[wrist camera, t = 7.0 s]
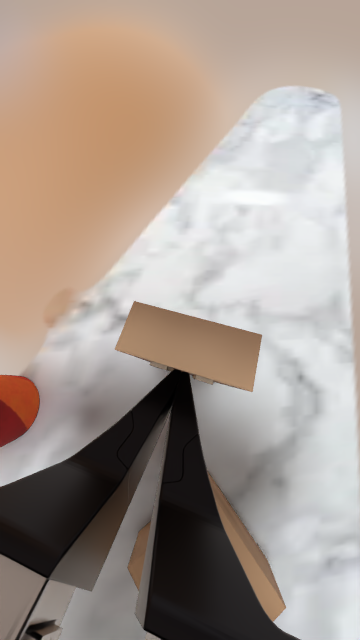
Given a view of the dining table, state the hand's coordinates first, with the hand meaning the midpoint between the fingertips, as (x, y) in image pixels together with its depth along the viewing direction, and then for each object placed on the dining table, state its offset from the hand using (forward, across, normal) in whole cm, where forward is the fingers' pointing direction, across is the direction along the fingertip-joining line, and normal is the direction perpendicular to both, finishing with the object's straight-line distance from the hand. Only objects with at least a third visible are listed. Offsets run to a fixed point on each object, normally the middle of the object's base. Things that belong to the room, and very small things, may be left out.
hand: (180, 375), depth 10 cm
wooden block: (+6, 0, +4) cm, 7 cm away
